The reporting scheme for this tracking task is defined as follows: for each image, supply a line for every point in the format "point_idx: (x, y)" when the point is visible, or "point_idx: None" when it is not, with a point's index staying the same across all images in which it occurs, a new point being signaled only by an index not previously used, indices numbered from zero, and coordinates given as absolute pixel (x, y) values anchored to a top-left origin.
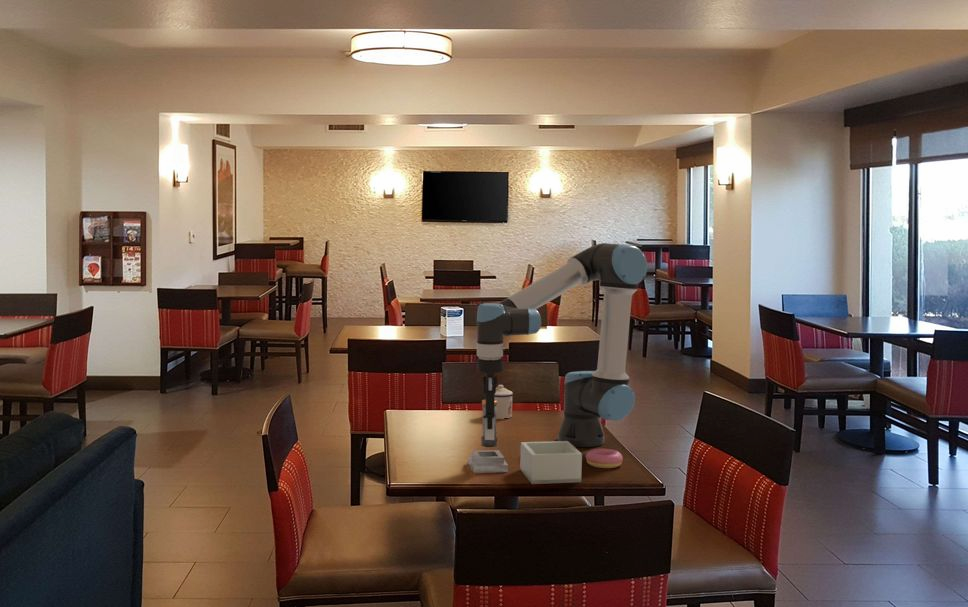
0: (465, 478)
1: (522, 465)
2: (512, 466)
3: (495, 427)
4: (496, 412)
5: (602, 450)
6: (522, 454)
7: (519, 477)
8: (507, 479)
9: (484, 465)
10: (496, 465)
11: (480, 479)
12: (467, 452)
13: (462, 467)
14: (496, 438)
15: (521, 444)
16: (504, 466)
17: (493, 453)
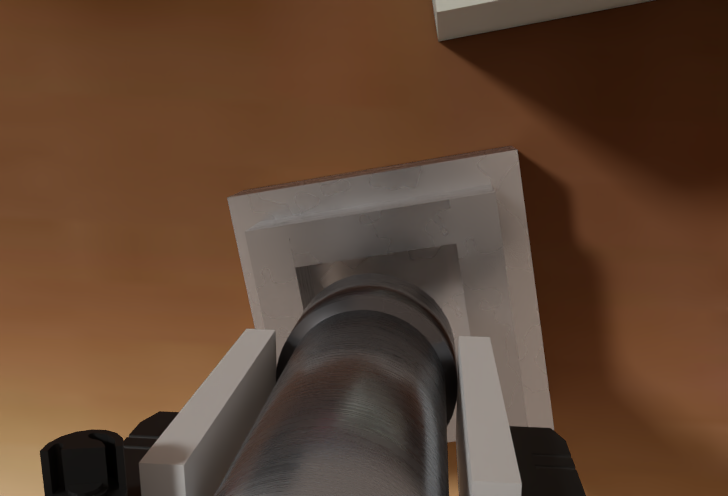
0: (678, 466)
1: (522, 20)
2: (349, 102)
3: (401, 371)
4: (321, 464)
5: None
6: (523, 9)
7: (666, 58)
8: (719, 160)
9: (531, 347)
10: (529, 250)
11: (709, 364)
12: (9, 421)
13: None
14: (410, 307)
15: (468, 8)
16: (521, 181)
17: (299, 275)
